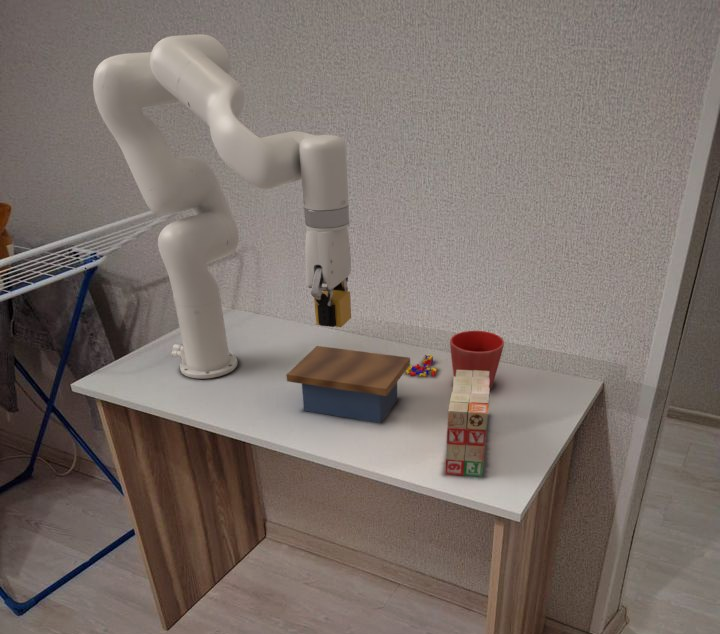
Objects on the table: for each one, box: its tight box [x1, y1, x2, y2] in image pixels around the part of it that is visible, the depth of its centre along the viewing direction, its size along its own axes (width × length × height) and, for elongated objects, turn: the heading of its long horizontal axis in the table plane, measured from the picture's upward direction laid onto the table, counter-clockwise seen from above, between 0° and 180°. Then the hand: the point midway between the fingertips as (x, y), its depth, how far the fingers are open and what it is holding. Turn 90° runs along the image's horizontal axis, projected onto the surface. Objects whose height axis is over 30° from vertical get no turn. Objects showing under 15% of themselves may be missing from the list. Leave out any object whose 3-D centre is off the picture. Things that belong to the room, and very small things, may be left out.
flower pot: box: [449, 330, 505, 389], centre depth 137 cm, size 11×11×10 cm
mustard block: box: [313, 290, 352, 328], centre depth 123 cm, size 5×5×5 cm
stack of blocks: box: [444, 370, 491, 478], centre depth 117 cm, size 21×6×12 cm, turn 169°
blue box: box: [301, 382, 398, 424], centre depth 132 cm, size 16×10×7 cm, turn 69°
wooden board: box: [286, 345, 411, 396], centre depth 129 cm, size 20×14×2 cm
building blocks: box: [405, 353, 438, 378], centre depth 146 cm, size 6×8×2 cm
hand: (333, 319), depth 124 cm, fingers closed on mustard block, 5 cm apart
